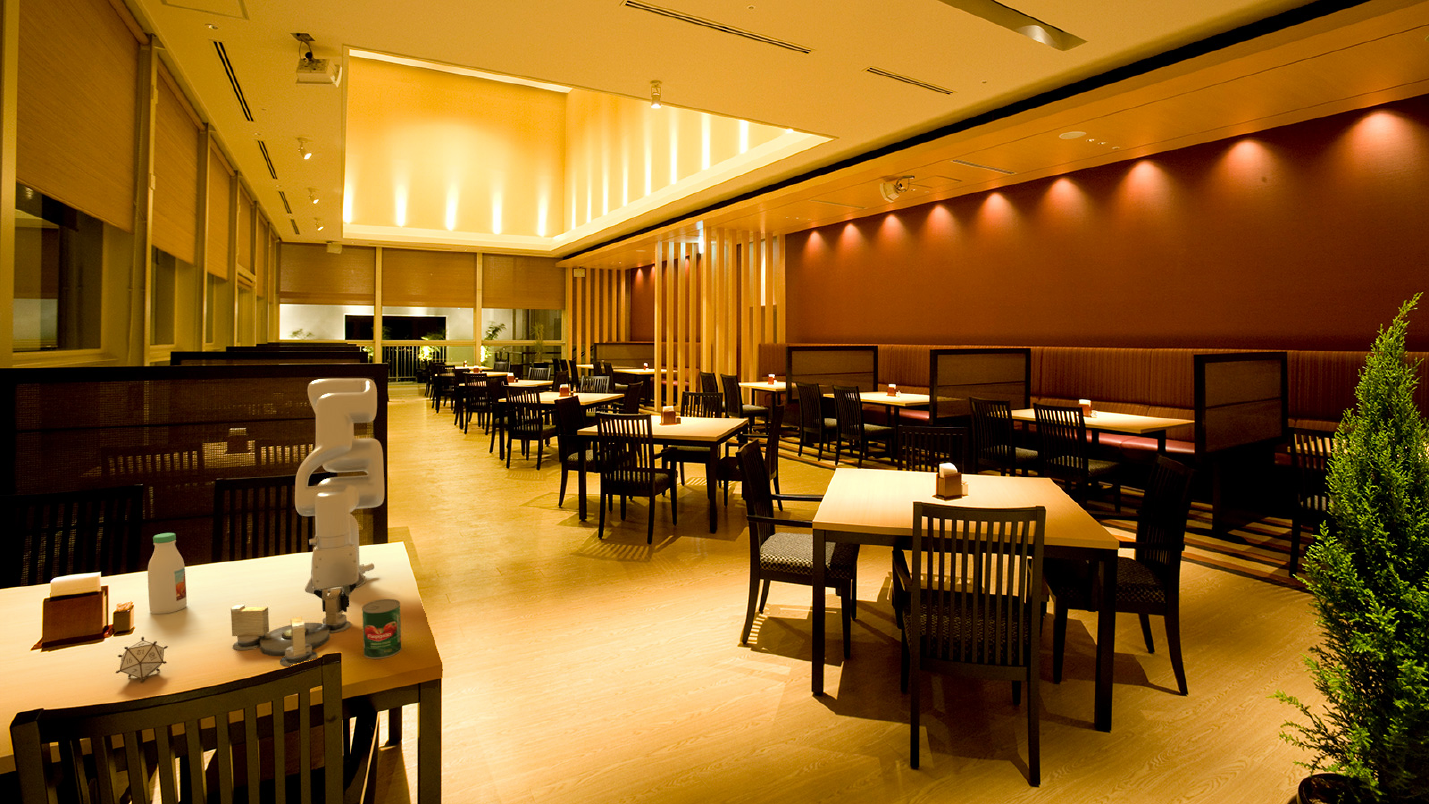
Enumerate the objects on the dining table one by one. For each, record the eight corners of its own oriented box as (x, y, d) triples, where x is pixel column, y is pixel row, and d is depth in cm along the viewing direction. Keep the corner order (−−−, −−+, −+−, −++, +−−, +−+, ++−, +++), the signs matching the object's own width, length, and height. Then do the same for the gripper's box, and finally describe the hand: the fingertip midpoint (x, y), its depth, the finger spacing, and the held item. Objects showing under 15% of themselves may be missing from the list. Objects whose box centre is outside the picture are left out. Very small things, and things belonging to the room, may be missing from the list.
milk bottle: (166, 616, 178) (162, 539, 177) (141, 613, 180) (137, 537, 178) (194, 605, 186) (190, 531, 184) (170, 602, 187) (166, 530, 186)
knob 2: (313, 659, 154) (312, 622, 153) (286, 665, 151) (284, 628, 150) (310, 648, 160) (309, 612, 159) (284, 653, 157) (282, 617, 156)
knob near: (326, 620, 175) (325, 588, 174) (349, 618, 177) (348, 586, 176) (319, 631, 169) (318, 598, 168) (343, 629, 170) (342, 596, 169)
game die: (140, 691, 148) (141, 645, 152) (178, 676, 148) (178, 631, 152) (103, 689, 140) (104, 641, 144) (143, 674, 140) (144, 626, 144)
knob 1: (228, 646, 160) (226, 611, 159) (242, 637, 165) (240, 602, 164) (260, 645, 160) (258, 610, 160) (272, 636, 166) (271, 602, 165)
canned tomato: (394, 641, 165) (392, 596, 164) (407, 651, 160) (405, 605, 159) (358, 651, 160) (356, 604, 159) (370, 662, 154) (368, 614, 153)
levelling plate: (316, 613, 181) (315, 600, 181) (381, 631, 171) (381, 617, 170) (225, 646, 161) (224, 632, 161) (293, 669, 151) (292, 653, 150)
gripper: (297, 549, 165) (300, 624, 167) (372, 539, 175) (374, 609, 177) (293, 542, 171) (296, 614, 173) (367, 532, 181) (369, 600, 183)
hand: (336, 611), depth 175 cm, fingers closed on knob near, 3 cm apart
